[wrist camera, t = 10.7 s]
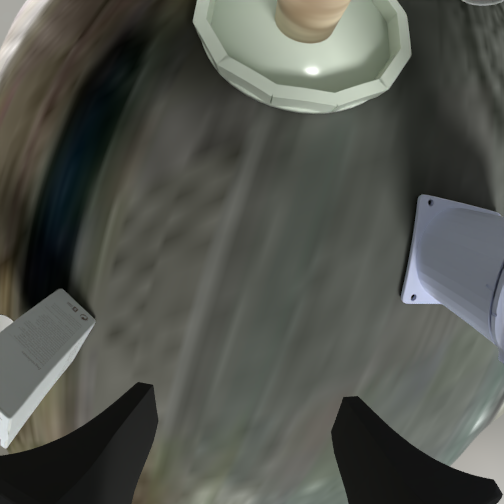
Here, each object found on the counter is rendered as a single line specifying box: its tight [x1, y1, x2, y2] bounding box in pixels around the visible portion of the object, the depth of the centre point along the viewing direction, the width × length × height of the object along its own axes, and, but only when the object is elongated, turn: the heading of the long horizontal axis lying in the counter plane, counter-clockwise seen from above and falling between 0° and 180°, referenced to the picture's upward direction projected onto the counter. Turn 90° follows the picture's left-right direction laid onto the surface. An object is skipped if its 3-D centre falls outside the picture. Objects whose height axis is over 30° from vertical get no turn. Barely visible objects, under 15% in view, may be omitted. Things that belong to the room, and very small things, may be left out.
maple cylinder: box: [275, 0, 351, 44], centre depth 12 cm, size 4×4×5 cm
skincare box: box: [0, 289, 96, 448], centre depth 15 cm, size 6×4×12 cm
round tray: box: [193, 0, 412, 114], centre depth 14 cm, size 14×14×3 cm
